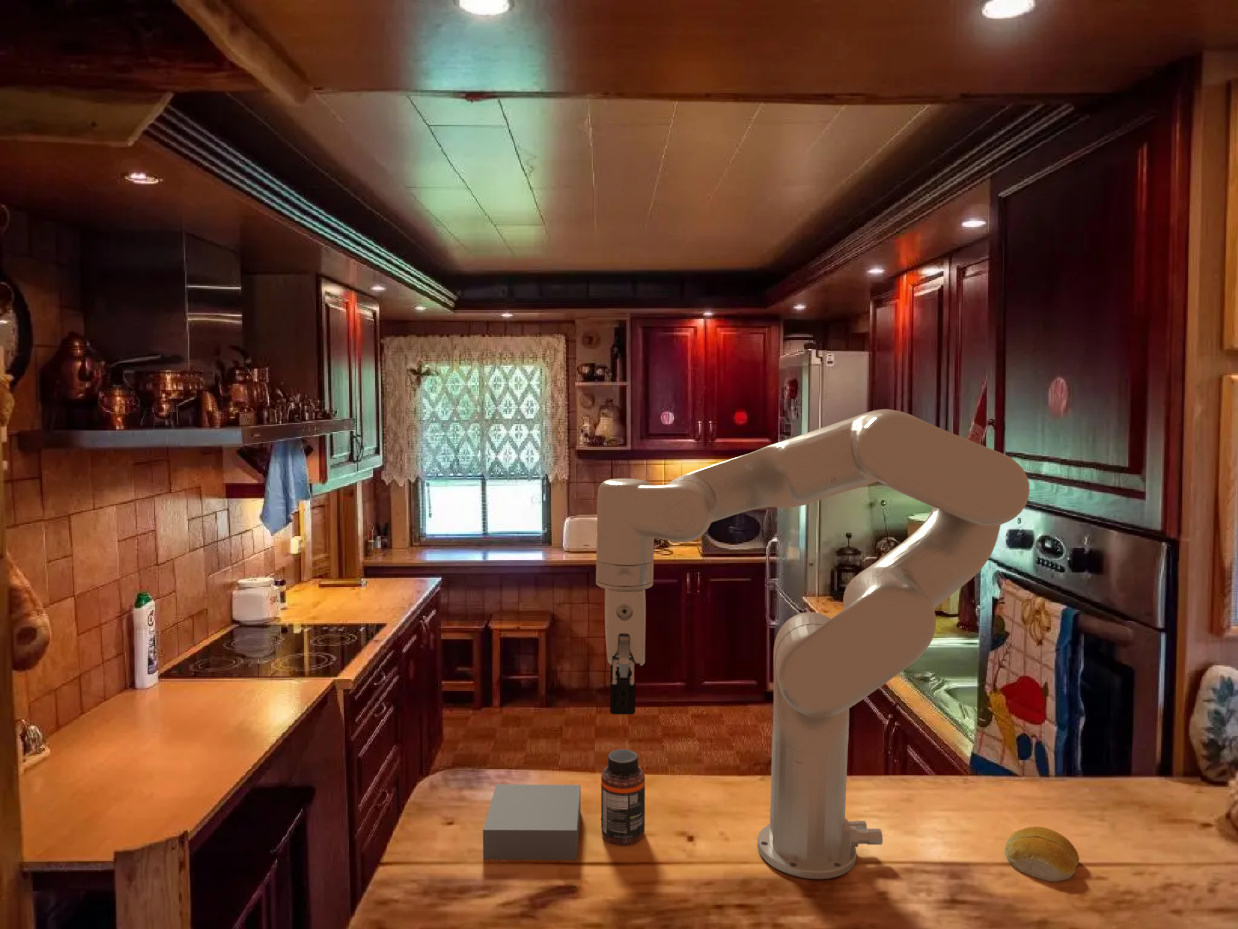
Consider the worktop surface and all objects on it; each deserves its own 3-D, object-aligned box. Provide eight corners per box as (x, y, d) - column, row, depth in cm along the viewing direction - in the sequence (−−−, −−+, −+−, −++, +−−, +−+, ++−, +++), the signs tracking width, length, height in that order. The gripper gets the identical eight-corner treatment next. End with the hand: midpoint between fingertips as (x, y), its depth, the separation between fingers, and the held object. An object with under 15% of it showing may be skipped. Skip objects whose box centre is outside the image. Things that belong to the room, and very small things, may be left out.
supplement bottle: (615, 819, 116) (616, 741, 115) (652, 831, 113) (653, 751, 112) (592, 839, 111) (592, 758, 110) (630, 852, 108) (631, 769, 107)
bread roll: (1081, 858, 108) (1083, 829, 107) (1071, 891, 100) (1073, 860, 100) (1012, 837, 112) (1013, 809, 112) (998, 868, 105) (1000, 838, 105)
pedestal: (580, 811, 118) (580, 785, 117) (576, 860, 106) (576, 830, 105) (496, 811, 118) (496, 784, 117) (483, 859, 106) (482, 830, 105)
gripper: (656, 590, 100) (653, 726, 101) (650, 559, 117) (647, 676, 119) (594, 589, 100) (592, 725, 101) (597, 558, 117) (595, 675, 118)
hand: (622, 698), depth 110 cm, fingers open, 9 cm apart
